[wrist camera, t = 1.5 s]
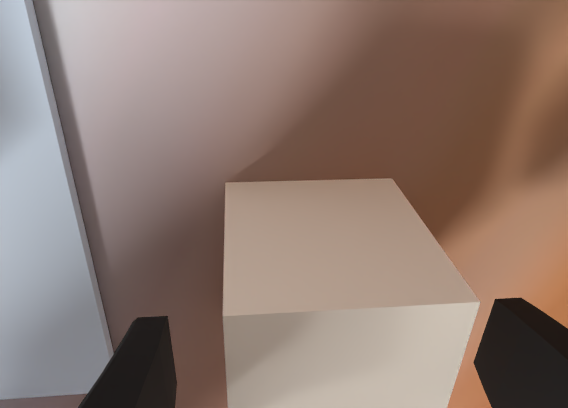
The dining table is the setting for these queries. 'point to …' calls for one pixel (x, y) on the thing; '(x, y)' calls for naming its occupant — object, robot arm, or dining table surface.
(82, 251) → the board
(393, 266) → the ivory block
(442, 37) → the dining table surface
